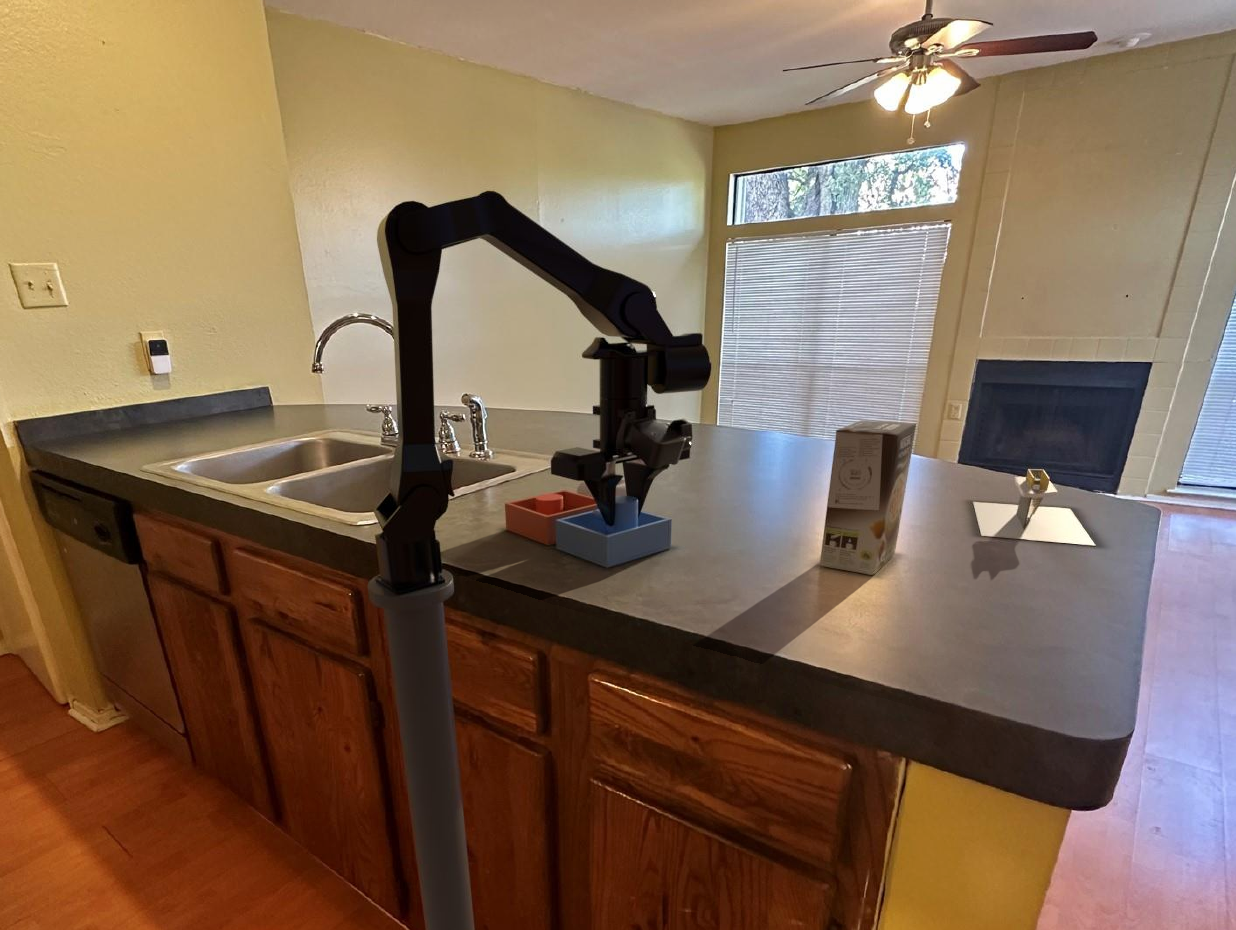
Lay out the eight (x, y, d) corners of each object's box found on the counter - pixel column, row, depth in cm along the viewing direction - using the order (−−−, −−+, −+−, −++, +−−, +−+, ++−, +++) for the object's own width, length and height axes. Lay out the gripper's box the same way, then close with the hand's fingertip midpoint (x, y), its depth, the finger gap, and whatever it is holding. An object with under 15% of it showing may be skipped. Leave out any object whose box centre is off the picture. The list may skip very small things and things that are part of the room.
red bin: (547, 545, 94) (547, 517, 92) (506, 529, 102) (504, 503, 100) (609, 528, 100) (609, 501, 98) (565, 514, 108) (564, 489, 106)
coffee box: (875, 576, 78) (897, 434, 72) (818, 566, 82) (834, 430, 76) (896, 554, 85) (917, 421, 79) (842, 545, 89) (858, 418, 83)
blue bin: (607, 568, 85) (607, 537, 83) (556, 548, 92) (555, 519, 91) (670, 548, 91) (671, 518, 89) (617, 531, 98) (618, 504, 97)
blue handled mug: (644, 529, 89) (644, 499, 87) (621, 536, 86) (621, 505, 85) (604, 517, 94) (604, 489, 93) (582, 523, 92) (581, 494, 91)
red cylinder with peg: (531, 523, 102) (529, 497, 101) (552, 518, 104) (551, 492, 103) (562, 534, 96) (562, 506, 95) (584, 528, 99) (584, 501, 97)
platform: (1069, 508, 100) (1081, 463, 97) (1095, 545, 85) (1110, 493, 82) (972, 501, 105) (981, 458, 102) (981, 535, 90) (991, 486, 88)
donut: (646, 498, 115) (592, 491, 120) (647, 477, 114) (593, 472, 119) (622, 513, 108) (565, 505, 112) (622, 491, 106) (565, 484, 111)
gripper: (610, 411, 72) (610, 553, 78) (728, 393, 82) (720, 520, 87) (546, 403, 80) (550, 531, 86) (659, 388, 90) (656, 504, 96)
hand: (622, 521), depth 89 cm, fingers closed on blue handled mug, 4 cm apart
